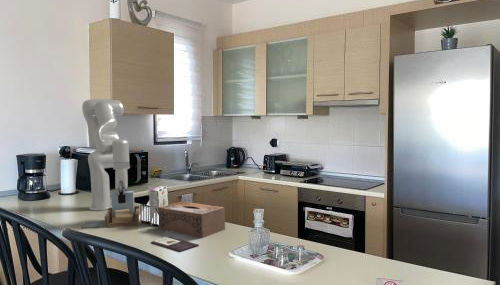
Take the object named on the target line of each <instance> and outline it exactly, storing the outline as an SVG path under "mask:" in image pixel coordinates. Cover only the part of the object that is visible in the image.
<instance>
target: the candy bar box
mask: <svg viewBox="0 0 500 285" xmlns="http://www.w3.org/2000/svg"><path fill="white" fill-rule="evenodd" d="M168 191H169V190H168V186H167V185H166V186H164V185H160V186H157V187H154V188H152V189H150V190H148V204H149V220H150V226H152V223H151V221H152V218H153V216H154V213H155V207H156V208H158V210H159V207H162V206H166V205H169V195H168V194H169V193H168Z"/></svg>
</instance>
